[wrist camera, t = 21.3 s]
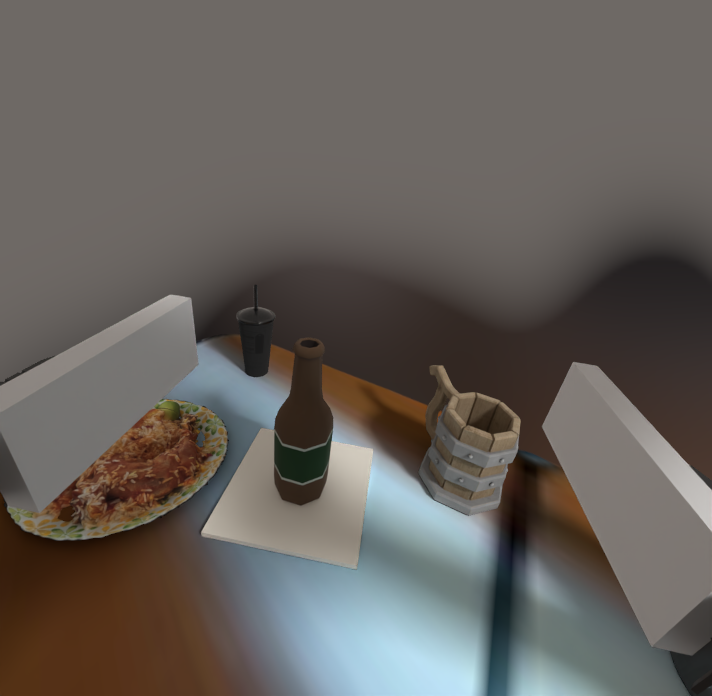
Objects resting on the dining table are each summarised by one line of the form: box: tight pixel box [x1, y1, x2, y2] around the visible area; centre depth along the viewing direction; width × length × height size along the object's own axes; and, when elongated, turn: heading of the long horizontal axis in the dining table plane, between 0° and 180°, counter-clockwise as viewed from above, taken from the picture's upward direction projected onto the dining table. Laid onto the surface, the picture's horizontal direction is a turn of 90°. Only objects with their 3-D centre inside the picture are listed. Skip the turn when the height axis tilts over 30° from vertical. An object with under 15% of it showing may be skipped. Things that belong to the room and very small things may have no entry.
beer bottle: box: [274, 338, 333, 506], centre depth 46 cm, size 8×8×24 cm
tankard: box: [418, 365, 520, 516], centre depth 57 cm, size 20×13×15 cm, turn 19°
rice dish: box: [4, 399, 229, 541], centre depth 53 cm, size 28×28×5 cm
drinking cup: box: [237, 285, 275, 377], centre depth 74 cm, size 8×8×20 cm
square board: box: [201, 428, 373, 570], centre depth 52 cm, size 20×20×1 cm
